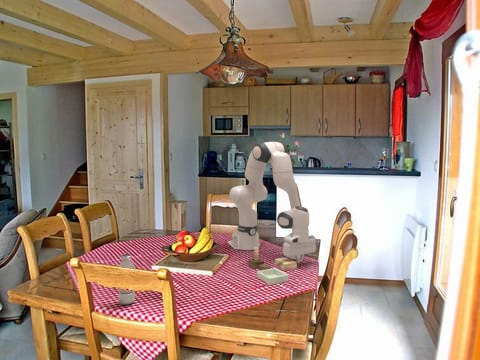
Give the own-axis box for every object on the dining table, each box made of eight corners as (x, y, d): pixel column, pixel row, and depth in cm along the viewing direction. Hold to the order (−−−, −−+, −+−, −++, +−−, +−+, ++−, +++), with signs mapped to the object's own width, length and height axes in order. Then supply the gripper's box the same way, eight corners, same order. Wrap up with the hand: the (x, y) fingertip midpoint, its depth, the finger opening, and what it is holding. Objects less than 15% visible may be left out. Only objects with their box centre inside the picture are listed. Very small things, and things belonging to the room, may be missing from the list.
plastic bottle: (120, 299, 158) (119, 252, 155) (136, 299, 158) (136, 252, 156) (116, 306, 151) (115, 257, 149) (133, 306, 152) (133, 257, 150)
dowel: (252, 266, 201) (253, 247, 200) (256, 265, 202) (257, 247, 201) (255, 267, 199) (255, 248, 198) (259, 266, 200) (259, 248, 199)
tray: (256, 277, 186) (256, 271, 186) (275, 273, 191) (275, 267, 191) (269, 285, 176) (269, 278, 176) (288, 281, 182) (288, 275, 182)
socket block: (248, 266, 202) (248, 259, 201) (257, 264, 204) (258, 257, 204) (254, 270, 196) (254, 262, 196) (263, 268, 199) (264, 260, 199)
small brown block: (259, 270, 196) (259, 265, 195) (266, 269, 198) (266, 263, 197) (263, 273, 192) (263, 267, 192) (270, 271, 194) (270, 266, 194)
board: (274, 266, 204) (275, 258, 204) (285, 264, 207) (285, 257, 207) (285, 272, 195) (285, 264, 195) (296, 270, 199) (296, 262, 198)
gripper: (311, 233, 212) (310, 257, 214) (281, 237, 202) (280, 263, 203) (319, 236, 207) (317, 261, 208) (288, 240, 196) (287, 266, 198)
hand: (299, 262), depth 206 cm, fingers closed
